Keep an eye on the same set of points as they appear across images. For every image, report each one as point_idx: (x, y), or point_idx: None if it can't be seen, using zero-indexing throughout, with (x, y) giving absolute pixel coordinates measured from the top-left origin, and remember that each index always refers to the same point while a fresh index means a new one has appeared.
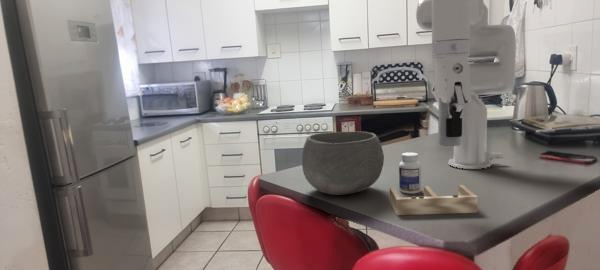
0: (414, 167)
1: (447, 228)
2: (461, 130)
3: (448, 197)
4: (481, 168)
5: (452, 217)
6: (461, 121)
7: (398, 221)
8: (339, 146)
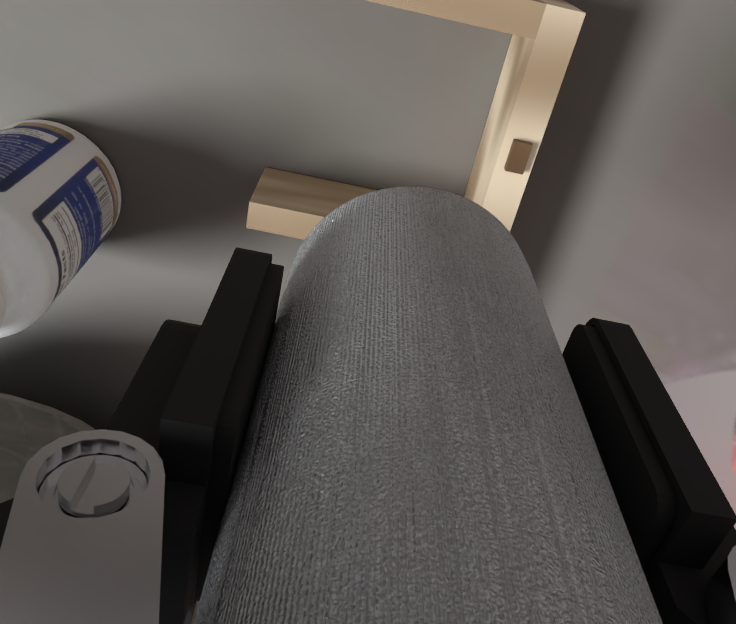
0: (51, 265)
1: (670, 268)
2: (647, 371)
3: (515, 201)
4: None
5: (562, 176)
6: (702, 475)
7: None
8: None
